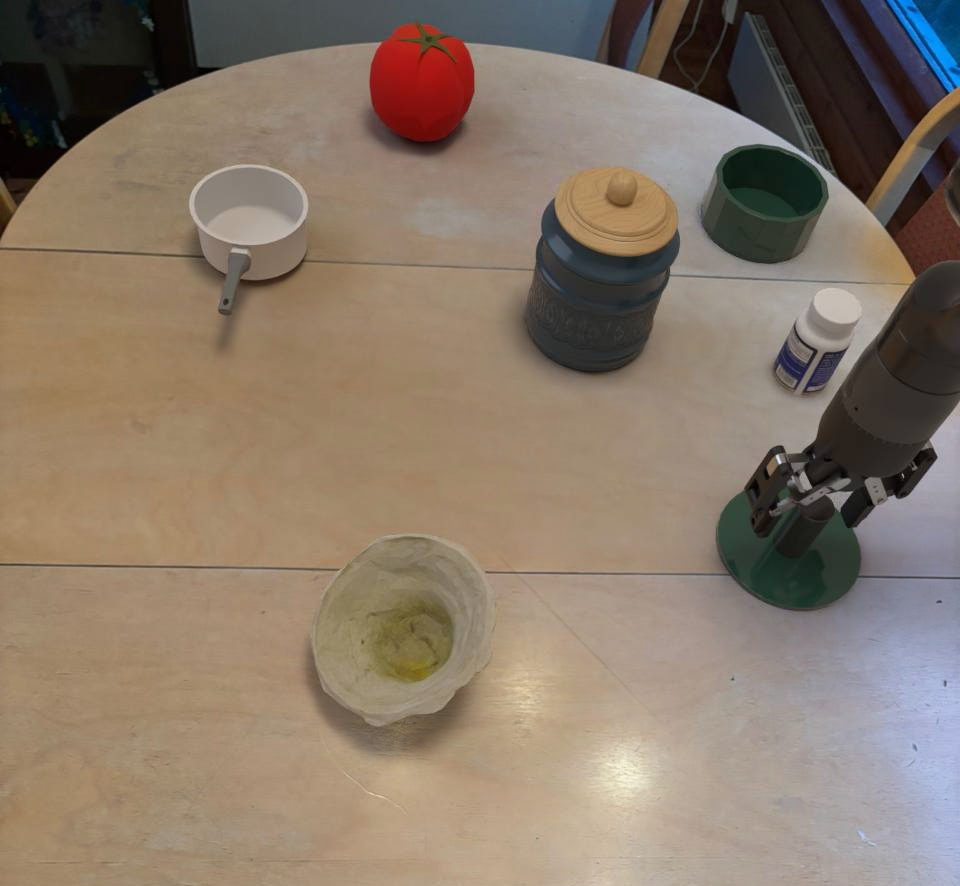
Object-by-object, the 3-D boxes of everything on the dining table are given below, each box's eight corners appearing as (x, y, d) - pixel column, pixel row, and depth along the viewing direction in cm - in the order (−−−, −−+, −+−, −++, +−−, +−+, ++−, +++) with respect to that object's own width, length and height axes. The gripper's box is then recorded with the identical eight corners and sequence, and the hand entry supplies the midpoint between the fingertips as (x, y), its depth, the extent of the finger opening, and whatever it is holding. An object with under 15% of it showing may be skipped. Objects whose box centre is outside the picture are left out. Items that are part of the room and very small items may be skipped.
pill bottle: (824, 364, 98) (868, 289, 89) (823, 405, 96) (869, 333, 87) (770, 353, 98) (809, 277, 89) (768, 394, 96) (808, 320, 87)
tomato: (392, 167, 105) (393, 77, 96) (354, 103, 110) (352, 11, 101) (488, 147, 109) (499, 57, 99) (448, 85, 113) (455, -5, 104)
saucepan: (171, 346, 91) (160, 302, 86) (209, 205, 100) (200, 157, 95) (292, 359, 92) (287, 316, 87) (318, 218, 101) (315, 171, 96)
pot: (750, 172, 111) (767, 130, 106) (830, 233, 108) (851, 192, 103) (679, 213, 107) (693, 171, 102) (760, 278, 103) (778, 238, 98)
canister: (623, 274, 101) (668, 120, 86) (665, 365, 96) (722, 218, 80) (508, 289, 99) (533, 132, 83) (545, 383, 93) (579, 235, 78)
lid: (777, 467, 92) (807, 419, 85) (884, 561, 88) (923, 518, 81) (684, 538, 87) (708, 493, 80) (793, 641, 83) (827, 601, 77)
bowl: (288, 615, 79) (277, 551, 70) (442, 564, 83) (450, 497, 74) (352, 773, 74) (349, 726, 65) (514, 711, 77) (532, 658, 68)
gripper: (822, 450, 66) (741, 569, 80) (1001, 432, 69) (891, 551, 83) (786, 368, 69) (715, 497, 84) (958, 354, 72) (860, 482, 86)
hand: (803, 524), depth 83 cm, fingers open, 8 cm apart
